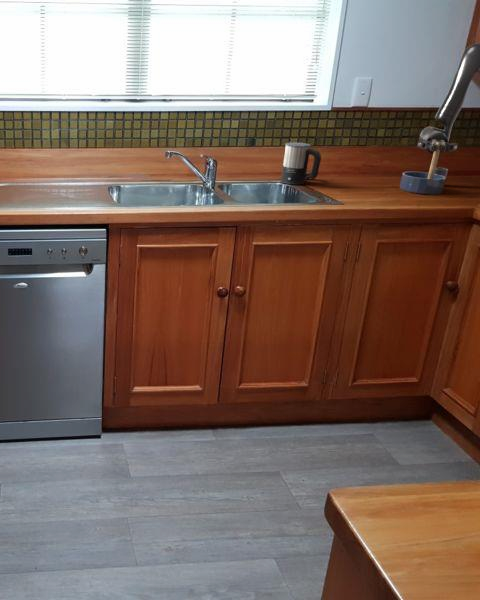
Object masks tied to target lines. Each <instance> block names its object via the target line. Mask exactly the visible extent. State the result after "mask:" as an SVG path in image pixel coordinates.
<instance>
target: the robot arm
mask: <svg viewBox="0 0 480 600" xmlns="http://www.w3.org/2000/svg"><path fill="white" fill-rule="evenodd" d="M476 73H479V74H480V42H477V43H473V44H470V45H469V46H468V47H466V48H465V50H464V51H463V52H462V55H461V57H460V61H459V64H458V66H457V70H456V73H455V75H454V77H453V79H452V82H451V85H450V87H449V89H448V91H447V94H446V95H445V97H444V99H443V101H442V103H441V105H440V107H439V109H438V110H437V112H436V114H435V116H434V119H435V121H436V122H438V123H439V124H441V125H443V129H440V128H437V127H434V126H426V127H424V128H423V129H422V130H421V132H420V134H419V140H418V142H417V146H416V148H418V149H422V150H425V151H426V152H428V153H429V154H432V155H433V154H434V152H435V149H436V142H442V144H441V148H440V152H439V154H442V153H444V152H447V153H448V152H455V151H457V148H458V145H459V143H457V142H454V143H453V142H451V143H450V142H449V141H450V136H451V132H452V128H453V125H454V123H455V121H456V119H457V117H458V115H459V113H460V112H461V110H462V107H463V105H464V103H465V99H466V96H467V93H468V90H469V87H470V84H471V82H472V80H473V78H474V77H475V75H476Z"/></svg>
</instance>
